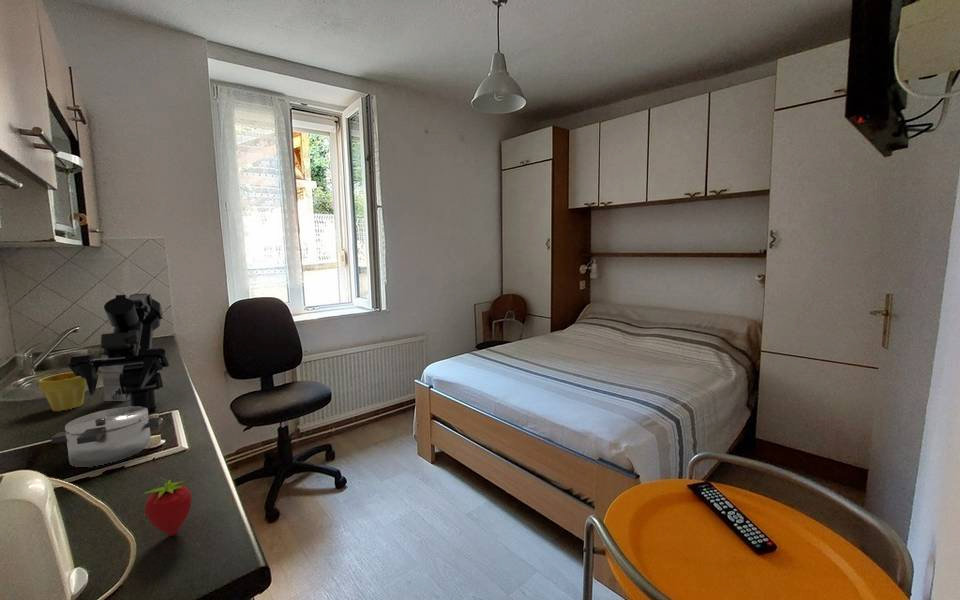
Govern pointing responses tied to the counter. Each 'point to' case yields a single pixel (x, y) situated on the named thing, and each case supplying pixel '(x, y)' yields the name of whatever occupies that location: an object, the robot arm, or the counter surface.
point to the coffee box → (112, 382)
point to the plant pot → (63, 390)
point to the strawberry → (168, 507)
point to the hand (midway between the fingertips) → (116, 391)
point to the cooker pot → (109, 444)
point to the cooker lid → (104, 422)
